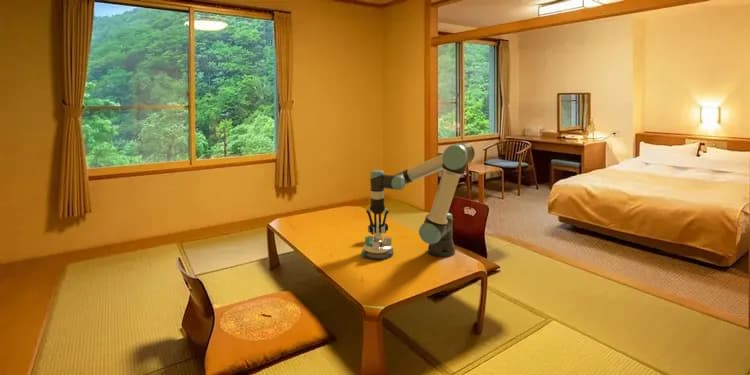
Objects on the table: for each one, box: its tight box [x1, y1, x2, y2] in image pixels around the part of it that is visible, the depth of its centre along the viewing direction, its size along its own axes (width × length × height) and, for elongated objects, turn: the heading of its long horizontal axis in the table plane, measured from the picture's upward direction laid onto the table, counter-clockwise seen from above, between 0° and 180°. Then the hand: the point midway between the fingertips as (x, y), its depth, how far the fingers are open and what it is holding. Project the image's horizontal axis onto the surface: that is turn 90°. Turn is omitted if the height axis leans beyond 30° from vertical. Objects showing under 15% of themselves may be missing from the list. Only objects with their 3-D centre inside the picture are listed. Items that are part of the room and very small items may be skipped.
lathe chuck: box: [362, 235, 393, 254], centre depth 234 cm, size 16×16×6 cm
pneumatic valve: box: [367, 220, 389, 241], centre depth 258 cm, size 6×12×12 cm, turn 106°
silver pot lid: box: [360, 247, 394, 261], centre depth 234 cm, size 17×18×4 cm
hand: (377, 238), depth 239 cm, fingers closed
